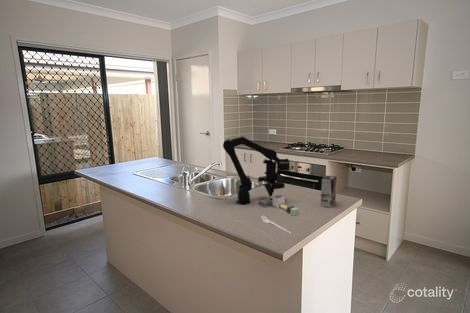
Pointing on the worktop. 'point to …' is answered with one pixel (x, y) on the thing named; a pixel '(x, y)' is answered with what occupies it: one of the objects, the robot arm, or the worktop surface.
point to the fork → (272, 223)
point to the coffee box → (328, 191)
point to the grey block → (278, 200)
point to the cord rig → (269, 202)
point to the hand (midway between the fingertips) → (270, 196)
